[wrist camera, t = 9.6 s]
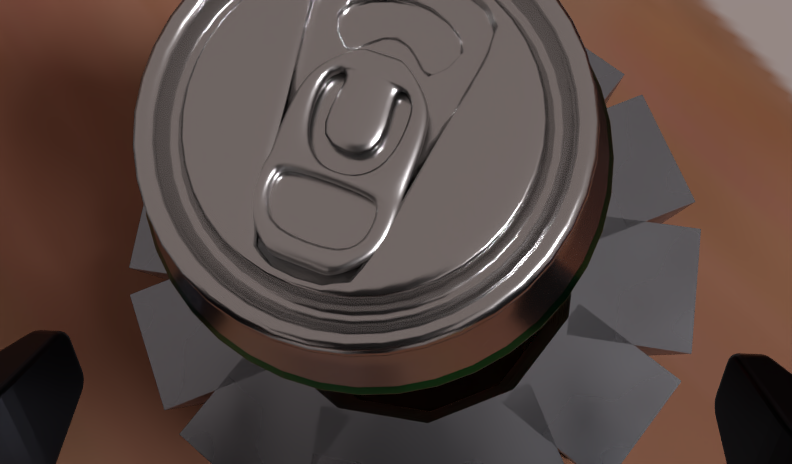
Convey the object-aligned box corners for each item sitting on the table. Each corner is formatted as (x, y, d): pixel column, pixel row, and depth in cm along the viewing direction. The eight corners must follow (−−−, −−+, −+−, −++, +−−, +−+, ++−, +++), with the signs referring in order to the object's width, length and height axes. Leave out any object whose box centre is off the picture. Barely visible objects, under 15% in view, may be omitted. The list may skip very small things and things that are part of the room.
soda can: (536, 222, 18) (714, -46, 6) (472, 406, 17) (538, 495, 5) (360, 161, 19) (219, -186, 7) (290, 335, 18) (-3, 278, 6)
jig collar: (623, 551, 16) (672, 601, 13) (149, 465, 17) (78, 490, 14) (665, 87, 18) (716, 23, 15) (240, 36, 20) (198, -33, 16)
